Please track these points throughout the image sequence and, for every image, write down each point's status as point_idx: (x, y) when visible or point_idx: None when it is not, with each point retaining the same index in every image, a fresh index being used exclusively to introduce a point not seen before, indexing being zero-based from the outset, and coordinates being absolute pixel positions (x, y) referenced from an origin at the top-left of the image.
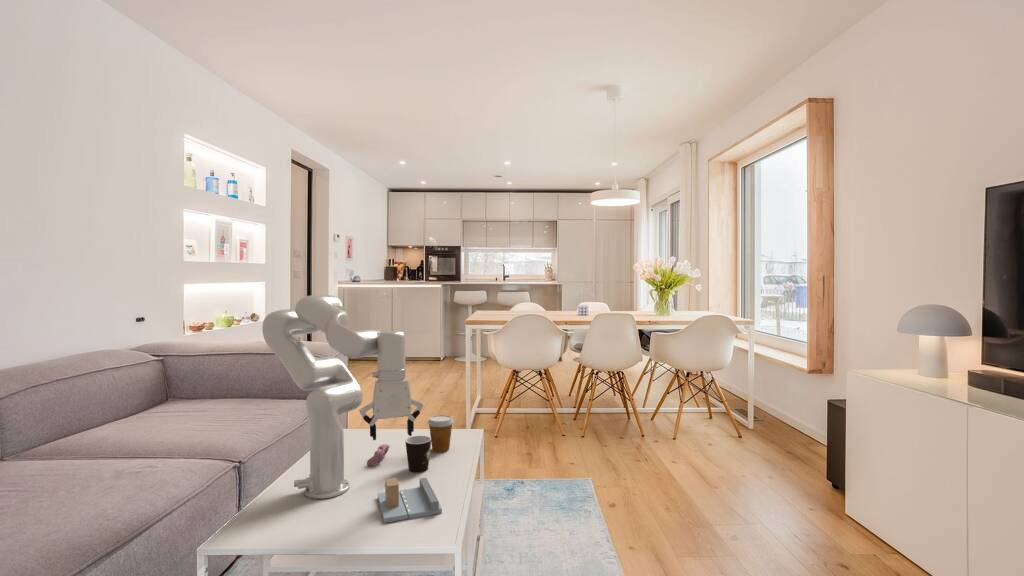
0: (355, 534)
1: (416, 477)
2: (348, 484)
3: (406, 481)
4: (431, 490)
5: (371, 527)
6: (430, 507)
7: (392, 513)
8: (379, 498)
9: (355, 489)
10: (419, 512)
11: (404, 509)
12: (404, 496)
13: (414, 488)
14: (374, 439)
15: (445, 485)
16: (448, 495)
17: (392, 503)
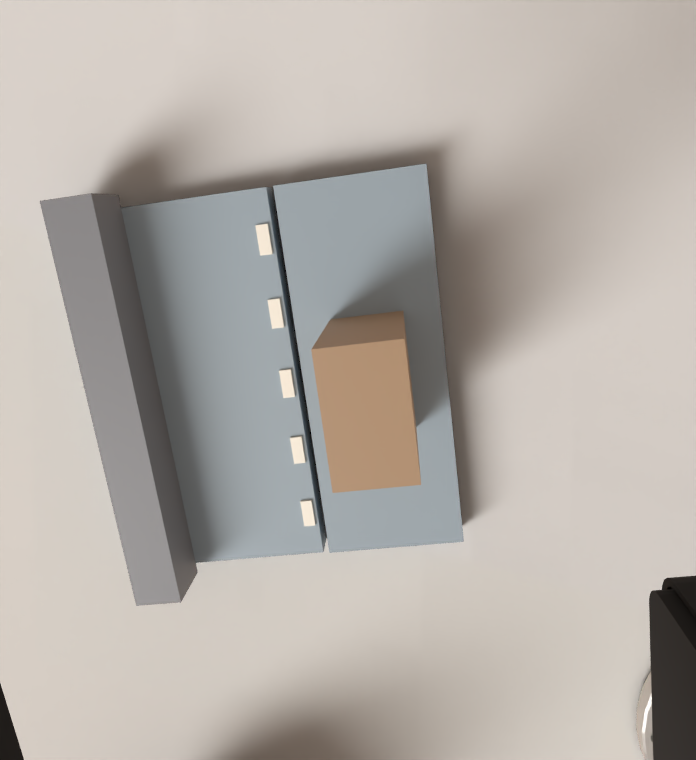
0: (610, 57)
1: (225, 734)
2: (648, 719)
3: (285, 698)
4: (94, 391)
5: (506, 131)
6: (118, 223)
7: (371, 223)
8: (454, 465)
9: (596, 676)
10: (195, 197)
11: (292, 261)
12: (292, 451)
13: (229, 553)
14: (692, 579)
15: (50, 583)
16: (29, 446)
17: (369, 319)
